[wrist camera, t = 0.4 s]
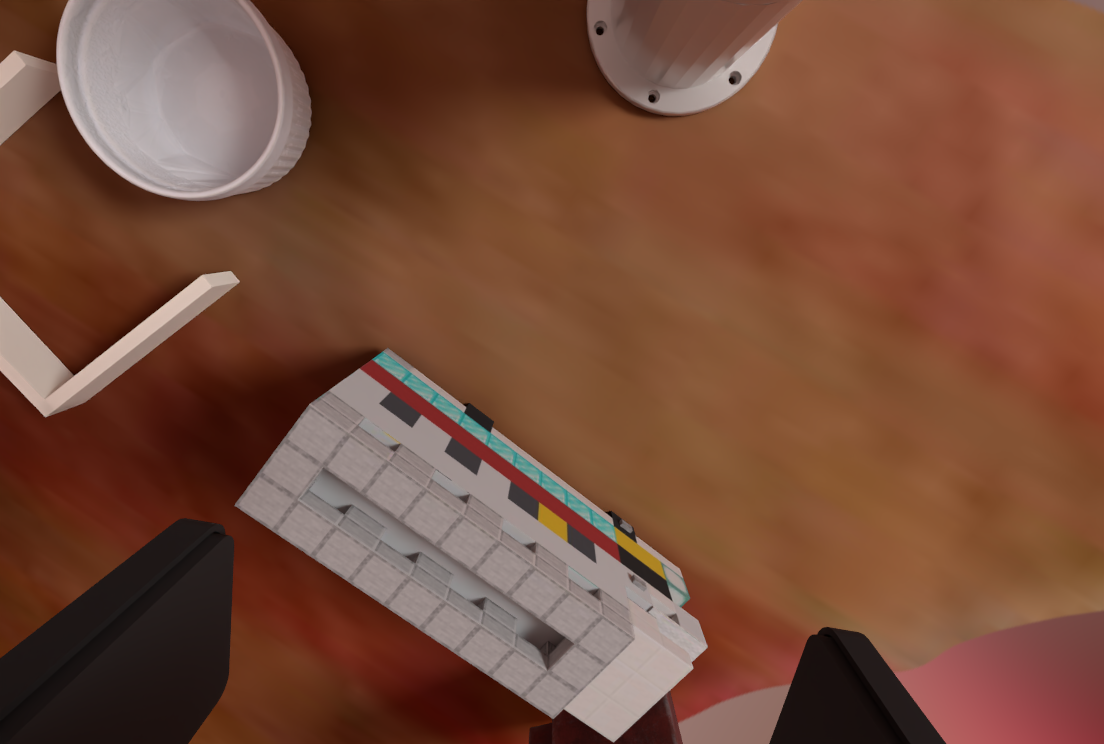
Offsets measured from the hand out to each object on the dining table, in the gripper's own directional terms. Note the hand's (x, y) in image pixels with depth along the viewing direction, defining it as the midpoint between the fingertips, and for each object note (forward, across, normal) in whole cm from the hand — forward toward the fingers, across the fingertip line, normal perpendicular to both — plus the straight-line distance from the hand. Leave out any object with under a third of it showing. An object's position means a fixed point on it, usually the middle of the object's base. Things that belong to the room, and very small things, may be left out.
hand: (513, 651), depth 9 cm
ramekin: (+35, +24, -10) cm, 44 cm away
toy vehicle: (+35, 0, +15) cm, 38 cm away
